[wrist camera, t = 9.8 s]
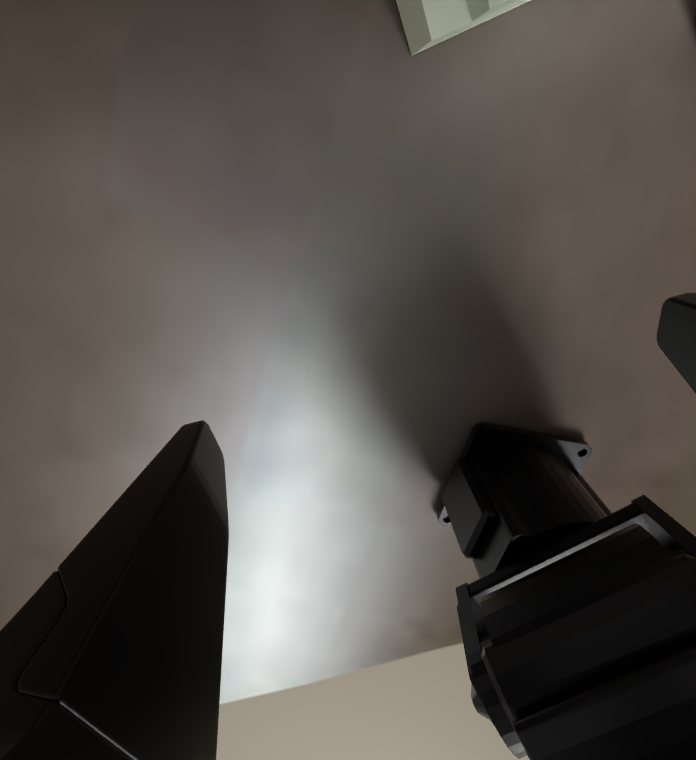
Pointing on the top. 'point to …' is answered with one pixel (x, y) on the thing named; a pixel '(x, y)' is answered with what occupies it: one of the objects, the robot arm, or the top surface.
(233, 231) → the top surface
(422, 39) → the ridge
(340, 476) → the top surface
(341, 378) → the top surface
